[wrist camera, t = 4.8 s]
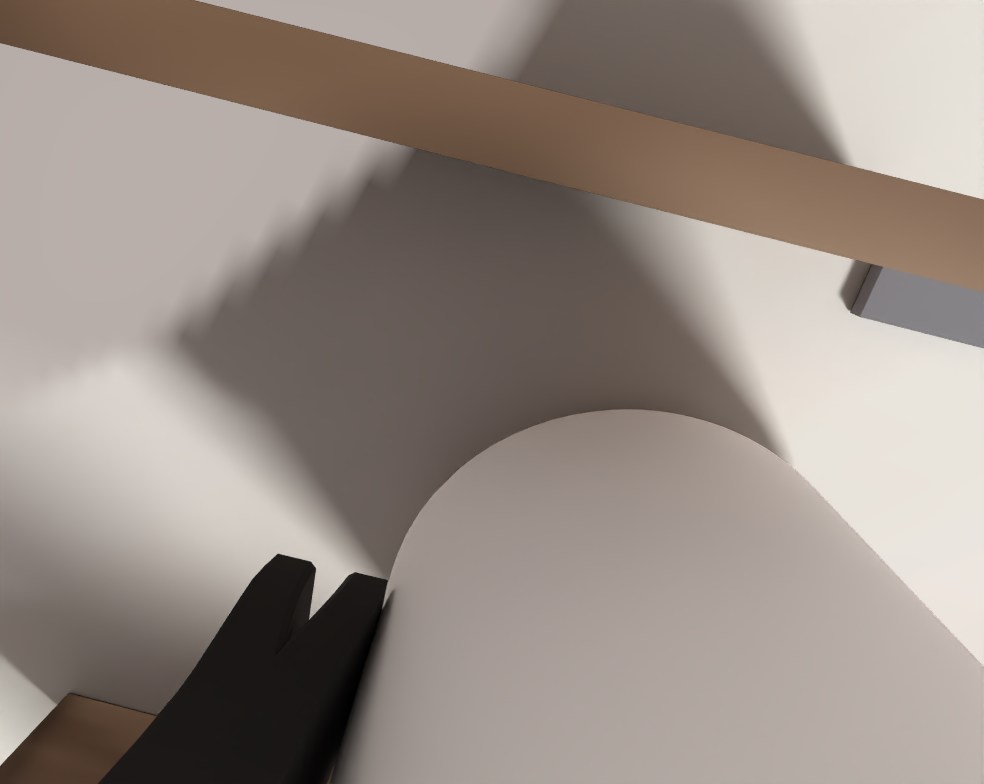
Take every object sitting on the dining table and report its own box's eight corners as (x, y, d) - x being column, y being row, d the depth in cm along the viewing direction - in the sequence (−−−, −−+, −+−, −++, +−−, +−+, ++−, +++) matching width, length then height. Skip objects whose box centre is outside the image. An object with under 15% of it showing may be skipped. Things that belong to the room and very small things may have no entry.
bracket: (926, 915, 17) (935, 932, 17) (611, 834, 18) (612, 848, 17) (1348, 384, 12) (1375, 390, 11) (872, 263, 12) (883, 266, 11)
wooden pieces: (585, 851, 18) (603, 1200, 12) (69, 717, 18) (-180, 994, 12) (870, 205, 11) (1247, 233, 5) (54, -2, 11) (-517, -212, 5)
